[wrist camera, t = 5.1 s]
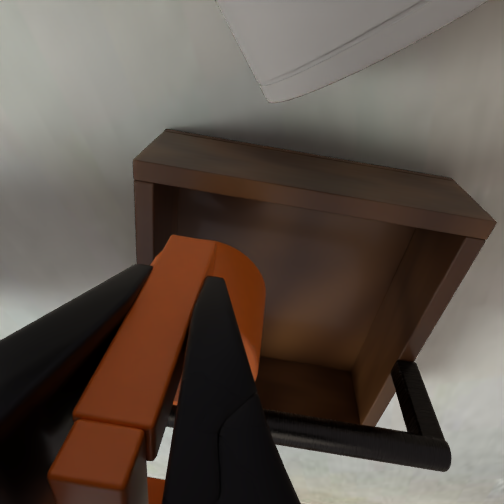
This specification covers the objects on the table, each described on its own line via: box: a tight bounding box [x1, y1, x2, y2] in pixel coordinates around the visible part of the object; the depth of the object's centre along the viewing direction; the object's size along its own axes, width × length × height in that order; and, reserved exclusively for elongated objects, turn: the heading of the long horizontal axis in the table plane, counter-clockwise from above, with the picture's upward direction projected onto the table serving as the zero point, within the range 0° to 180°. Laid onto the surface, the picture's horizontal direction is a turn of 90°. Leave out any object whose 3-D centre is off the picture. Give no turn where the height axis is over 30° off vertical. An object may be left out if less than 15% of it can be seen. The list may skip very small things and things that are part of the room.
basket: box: [133, 129, 497, 427], centre depth 19 cm, size 14×15×4 cm
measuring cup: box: [47, 235, 266, 504], centre depth 10 cm, size 5×6×9 cm
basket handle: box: [166, 360, 451, 472], centre depth 16 cm, size 14×1×5 cm, turn 82°
